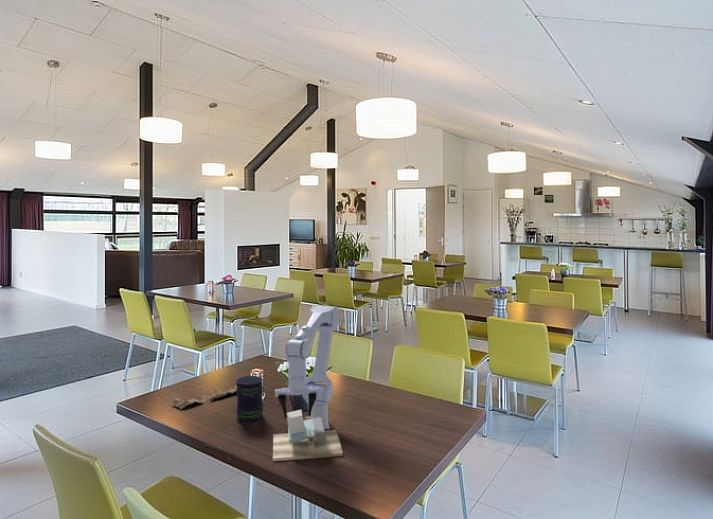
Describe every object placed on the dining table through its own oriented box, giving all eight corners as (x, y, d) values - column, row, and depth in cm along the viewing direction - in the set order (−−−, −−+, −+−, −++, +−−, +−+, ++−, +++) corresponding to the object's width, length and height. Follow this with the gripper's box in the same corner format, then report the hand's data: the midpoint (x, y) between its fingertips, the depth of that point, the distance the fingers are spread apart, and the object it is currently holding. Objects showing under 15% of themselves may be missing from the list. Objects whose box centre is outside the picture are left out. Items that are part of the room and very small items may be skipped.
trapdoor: (289, 432, 160) (288, 424, 160) (322, 424, 162) (320, 416, 161) (290, 449, 148) (288, 440, 147) (326, 440, 149) (324, 431, 149)
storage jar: (234, 416, 180) (233, 378, 179) (259, 411, 184) (258, 374, 183) (240, 425, 171) (239, 385, 170) (266, 420, 175) (265, 381, 175)
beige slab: (273, 437, 161) (273, 418, 161) (336, 432, 165) (336, 414, 165) (272, 461, 145) (272, 440, 144) (342, 455, 148) (342, 435, 148)
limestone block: (289, 428, 156) (286, 412, 156) (304, 425, 157) (301, 409, 156) (289, 435, 151) (286, 418, 151) (305, 431, 152) (302, 415, 151)
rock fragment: (241, 387, 216) (241, 380, 216) (254, 392, 209) (254, 385, 209) (170, 405, 191) (170, 398, 191) (182, 411, 184) (182, 404, 184)
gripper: (274, 380, 148) (275, 422, 149) (320, 378, 150) (320, 419, 151) (274, 374, 155) (275, 413, 156) (318, 371, 157) (318, 411, 158)
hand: (297, 416), depth 154 cm, fingers open, 7 cm apart
